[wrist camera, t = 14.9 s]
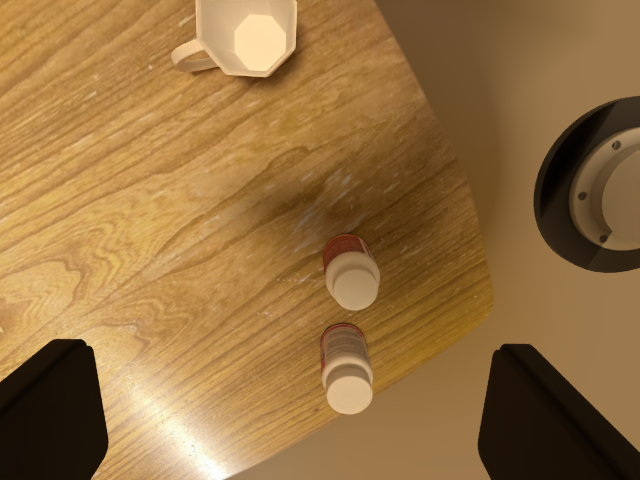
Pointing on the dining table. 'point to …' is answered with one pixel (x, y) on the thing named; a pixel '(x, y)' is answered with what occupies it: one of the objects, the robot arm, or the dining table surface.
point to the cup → (241, 36)
